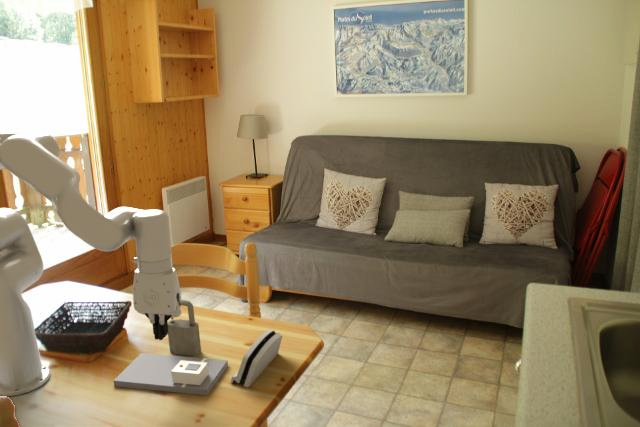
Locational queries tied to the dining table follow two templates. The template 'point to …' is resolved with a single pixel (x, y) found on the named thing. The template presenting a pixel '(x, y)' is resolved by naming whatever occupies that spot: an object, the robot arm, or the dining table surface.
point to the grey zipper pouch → (258, 357)
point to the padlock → (184, 334)
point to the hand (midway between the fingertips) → (161, 336)
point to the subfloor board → (167, 374)
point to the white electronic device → (190, 372)
